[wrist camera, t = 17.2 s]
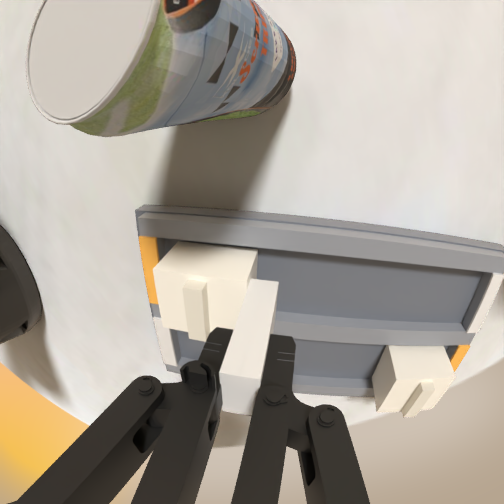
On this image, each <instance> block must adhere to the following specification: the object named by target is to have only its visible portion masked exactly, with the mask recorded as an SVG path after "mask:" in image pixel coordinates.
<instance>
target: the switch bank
mask: <svg viewBox="0 0 504 504" xmlns="http://www.w3.org/2000/svg"><path fill="white" fill-rule="evenodd" d="M135 213H136V222H137V230H138V237H139V244H140V251H141V258H142V264H143V270H144V276H145V281H146V287H147V292H148V297H149V302H150V307H151V312H152V317H153V321H154V326H155V330H156V335H157V339H158V343H159V347H160V351H161V355H162V359H163V362H164V364H165V365H166V369H167V371H170V372H175V373H179V374H181V373H180V369H181V367H182V366H183V365H184V364H186V363H187V362H189V361H194V360H198V359H199V356H200V354H201V352H202V350H203V347H204V345H205V343H206V342H204V341H199V340H193V339H189V335H188V332H185V331H180V330H175V329H170V328H165V327H163V325H162V320H161V315H160V309H159V304H158V299H157V293H156V287H155V281H154V275H153V268H154V267H155V266H156V265H157V264H158V263H159V262H160V261H161V259H162V258H163V257H164V256H165V255H166V254H167V253H168V252H169V251H170V250H171V249H172V248H173V246H174V245H175V244H176V243H177V242H178V241H182V242H192V243H202V244H212V245H222V246H231V247H241V248H251V249H258V261H257V279H259V280H268V281H277V282H279V285H278V295H277V305H276V316H275V324H274V330H273V334H276V335H284V336H292V337H293V339H294V342H295V344H296V350H295V361H294V373H293V383H292V391H293V393H303V394H315V395H331V396H360V397H375V396H374V389H373V382H372V376H373V374H374V372H375V369H376V367H377V365H378V363H379V361H380V359H381V356H382V354H383V352H384V350H385V347H386V345H405V346H444V348H445V351H446V353H447V355H448V358H449V360H450V363H451V365H452V368H453V370H454V372H455V370H456V369H457V367H458V366H459V364H460V363H461V361H462V359H463V358H464V356H465V354H466V353H467V351H468V349H469V348H470V343H471V341H472V339H473V337H474V336H475V334H476V333H478V332H479V330H480V328H481V326H482V324H483V322H484V320H485V318H486V316H487V314H488V312H489V310H490V308H491V306H492V304H493V301H494V299H495V297H496V295H497V293H498V290H499V288H500V285H501V283H502V281H503V278H504V274H503V273H504V247H503V246H502V245H501V244H496V243H490V242H485V241H479V240H473V239H468V238H462V237H456V236H450V235H444V234H437V233H431V232H424V231H418V230H411V229H404V228H397V227H389V226H382V225H374V224H366V223H358V222H350V221H342V220H333V219H324V218H315V217H305V216H295V215H285V214H274V213H263V212H251V211H239V210H226V209H212V208H197V207H180V206H161V205H143V206H141V207H140V208H138V209H136V210H135Z"/></svg>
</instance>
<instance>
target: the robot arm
mask: <svg viewBox="0 0 504 504" xmlns="http://www.w3.org/2000/svg"><path fill="white" fill-rule="evenodd" d="M278 285H279V282H277V281H268V280H259V279H251V280H250V283H249V286H248V289H247V292H246V295H245V298H244V301H243V304H242V307H241V310H240V313H239V316H238V319H237V322H236V325H235V327H234V330H233V329H227V328H220V327H216V328H215V329H214V330H213V331H212V332H210V333H209V335H208V338H207V340H206V343H205V345H204V347H203V350H202V352H201V354H200V356H199V359H198V360H194V361H189V362H187V363H186V364H184V365H183V366H182V367H181V369H180V373H181V377H182V381H181V382H178V383H161V382H160V381H159V380H158V379H157V378H156V377H153V376H141V377H138V378H137V379H135V380H134V381H133V382H132V383H131V384H130V385H129V386H128V387H127V388H126V389H125V390H124V391H123V392H122V393H121V394H120V395H119V396H118V397H117V398H116V399H115V400H114V401H113V402H112V403H111V405H110V406H109V407H108V408H107V409H106V410H105V411H104V412H103V413H102V414H101V415H100V416H99V417H98V418H97V419H96V420H95V421H94V422H93V423H92V424H91V425H90V426H89V427H88V428H87V429H86V430H85V431H84V432H83V433H82V435H80V437H79V438H78V439H77V440H76V441H75V442H74V443H73V444H72V445H71V446H70V447H69V448H68V449H67V450H66V451H65V452H64V453H63V454H62V455H61V456H60V457H59V458H58V459H57V460H56V461H55V462H54V463H53V464H52V465H51V466H50V467H49V468H48V469H47V470H46V471H45V472H44V474H43V475H42V476H41V477H40V478H39V479H38V480H37V481H36V482H35V483H34V484H33V485H32V486H31V487H30V488H29V489H28V490H27V491H26V492H25V493H24V494H23V495H22V496H21V497H20V498H19V499H18V500H17V501H15V502H12V503H8V504H109V503H110V502H111V501H112V500H113V499H114V497H115V496H116V495H117V494H118V493H119V492H120V490H121V489H122V488H123V487H124V486H125V484H126V483H127V482H128V481H129V480H130V478H131V477H132V476H133V475H134V473H135V472H136V471H137V470H138V469H139V467H140V466H141V465H142V464H143V463H144V461H145V460H146V459H147V458H148V456H149V455H150V453H152V451H153V453H152V455H151V457H150V460H149V462H148V464H147V467H146V469H145V471H144V474H143V476H142V478H141V481H140V483H139V486H138V488H137V490H136V493H135V495H134V497H133V500H132V502H131V504H195V501H196V497H197V494H198V491H199V488H200V484H201V481H202V478H203V475H204V472H205V468H206V465H207V462H208V459H209V455H210V452H211V449H212V445H213V442H214V439H215V436H216V432H217V429H218V426H219V422H220V416H219V414H220V411H221V408H222V411H225V412H231V413H236V414H242V415H249V416H252V418H251V422H250V427H249V431H248V436H247V440H246V444H245V449H244V453H243V457H242V461H241V466H240V470H239V474H238V478H237V482H236V486H235V490H234V494H233V498H232V502H231V504H278V498H279V492H280V486H281V480H282V473H283V466H284V459H285V452H286V446H288V447H290V448H293V449H295V450H297V451H298V456H299V462H300V467H301V473H302V478H303V484H304V489H305V494H306V500H307V504H370V502H369V498H368V495H367V491H366V488H365V484H364V481H363V478H362V474H361V470H360V467H359V464H358V460H357V457H356V454H355V451H354V447H353V444H352V441H351V437H350V434H349V431H348V428H347V425H346V422H345V418H344V416H343V414H342V412H341V411H340V410H339V409H338V408H337V407H335V406H332V405H319V406H316V407H315V408H314V407H311V406H309V405H306V404H304V403H302V402H300V401H299V400H298V399H297V398H296V397H295V396H294V394H293V391H292V383H293V373H294V361H295V350H296V344H295V342H294V339H293V337H292V336H284V335H276V334H273V330H274V324H275V316H276V305H277V295H278ZM40 317H41V302H40V297H39V294H38V290H37V287H36V284H35V282H34V279H33V277H32V274H31V272H30V270H29V268H28V265H27V263H26V261H25V260H24V258H23V256H22V254H21V252H20V251H19V249H18V247H17V246H16V244H15V243H14V241H13V240H12V238H11V237H10V236H9V234H8V233H7V232H6V231H5V230H4V229H3V228H2V227H1V226H0V344H1V343H4V342H6V341H8V340H10V339H13V338H15V337H17V336H19V335H22V334H24V333H26V332H28V331H29V330H30V329H31V328H32V327H33V326H34V325H35V324H36V323H37V322H38V321H39V320H40Z"/></svg>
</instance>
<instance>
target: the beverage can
mask: <svg viewBox="0 0 504 504" xmlns="http://www.w3.org/2000/svg"><path fill="white" fill-rule="evenodd" d="M295 72H296V56H295V51H294V48H293V45H292V43H291V41H290V40H289V38H288V37H287V35H286V34H285V33H284V32H283V31H282V29H281V28H280V27H279V26H278V25H277V24H276V23H275V22H274V21H273V20H272V19H271V18H270V17H269V15H268V14H267V13H266V12H265V11H264V10H263V9H262V8H261V7H260V6H259V5H258V4H257V3H256V2H255V1H254V0H44V1H43V3H42V5H41V7H40V9H39V11H38V13H37V15H36V18H35V20H34V23H33V26H32V29H31V33H30V36H29V41H28V47H27V54H26V77H27V84H28V89H29V92H30V95H31V98H32V100H33V102H34V104H35V106H36V108H37V109H38V111H39V112H40V113H41V114H42V115H43V116H44V117H45V118H46V119H48V120H49V121H52V122H54V123H56V124H64V125H71V126H72V127H74V128H75V129H77V130H80V131H82V132H85V133H87V134H90V135H95V136H102V137H112V136H123V135H127V134H132V133H137V132H142V131H147V130H152V129H157V128H163V127H169V126H175V125H182V124H189V123H196V122H204V121H212V120H221V119H232V118H243V117H250V116H254V115H257V114H261V113H263V112H265V111H267V110H269V109H270V108H272V107H273V106H274V105H276V104H277V103H278V102H279V101H280V100H281V99H282V98H283V97H284V96H285V95H286V93H287V92H288V90H289V89H290V87H291V84H292V82H293V80H294V76H295Z"/></svg>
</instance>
